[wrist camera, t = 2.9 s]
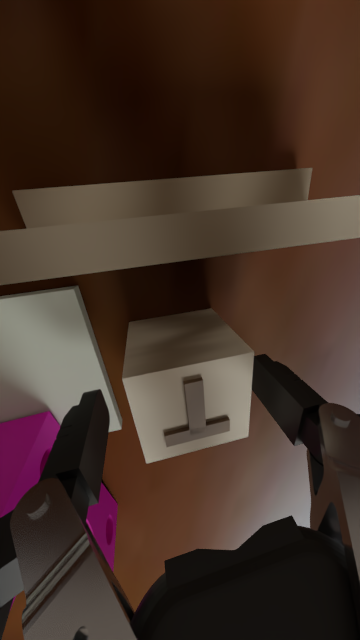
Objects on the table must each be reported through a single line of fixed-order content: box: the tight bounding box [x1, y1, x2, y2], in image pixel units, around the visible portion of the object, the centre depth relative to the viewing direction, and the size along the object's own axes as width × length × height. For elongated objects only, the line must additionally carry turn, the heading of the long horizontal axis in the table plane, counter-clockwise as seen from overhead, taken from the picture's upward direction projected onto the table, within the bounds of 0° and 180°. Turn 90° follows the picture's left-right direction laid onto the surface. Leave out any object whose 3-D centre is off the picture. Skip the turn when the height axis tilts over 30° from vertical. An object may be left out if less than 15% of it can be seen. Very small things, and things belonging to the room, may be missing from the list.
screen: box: [0, 168, 360, 285], centre depth 8 cm, size 14×3×6 cm, turn 96°
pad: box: [0, 285, 122, 432], centre depth 12 cm, size 12×11×1 cm
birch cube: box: [122, 308, 254, 463], centre depth 11 cm, size 6×6×6 cm
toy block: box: [0, 411, 118, 609], centre depth 13 cm, size 15×6×8 cm, turn 9°
